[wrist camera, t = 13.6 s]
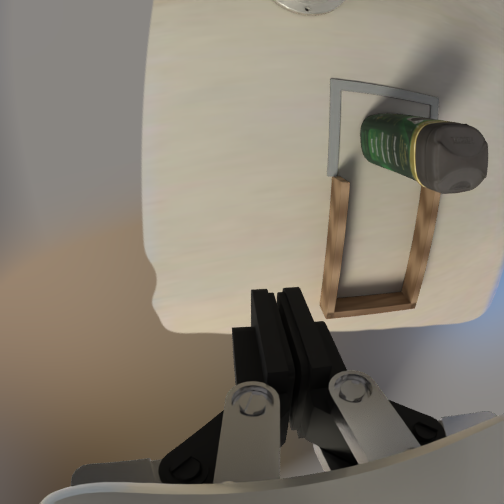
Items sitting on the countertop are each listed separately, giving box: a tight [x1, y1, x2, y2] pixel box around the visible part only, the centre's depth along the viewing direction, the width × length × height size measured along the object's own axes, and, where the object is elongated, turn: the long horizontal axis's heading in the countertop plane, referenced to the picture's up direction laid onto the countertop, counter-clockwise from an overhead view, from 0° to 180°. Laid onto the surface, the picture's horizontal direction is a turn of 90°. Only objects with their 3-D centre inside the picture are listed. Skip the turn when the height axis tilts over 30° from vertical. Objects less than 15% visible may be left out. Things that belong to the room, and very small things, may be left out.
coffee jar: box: [360, 113, 488, 194], centre depth 35 cm, size 10×8×19 cm
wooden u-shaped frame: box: [320, 176, 441, 319], centre depth 49 cm, size 22×17×4 cm
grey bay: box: [327, 79, 439, 177], centre depth 43 cm, size 14×19×1 cm
